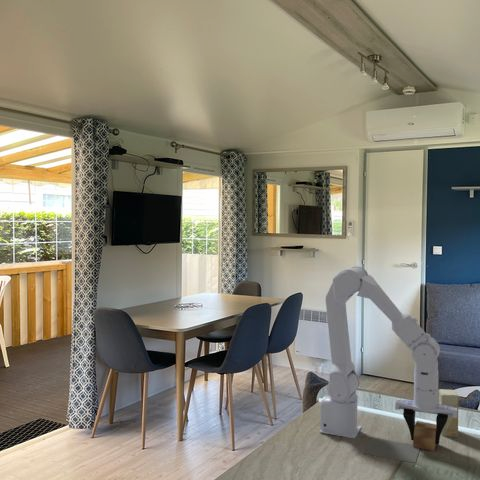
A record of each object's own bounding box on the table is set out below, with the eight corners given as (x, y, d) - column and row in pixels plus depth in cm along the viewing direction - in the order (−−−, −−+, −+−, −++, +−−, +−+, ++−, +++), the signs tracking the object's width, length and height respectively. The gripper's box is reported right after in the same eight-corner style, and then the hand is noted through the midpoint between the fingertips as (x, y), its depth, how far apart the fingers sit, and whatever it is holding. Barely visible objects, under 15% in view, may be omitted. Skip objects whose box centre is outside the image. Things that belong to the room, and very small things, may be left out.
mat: (363, 454, 131) (363, 453, 131) (372, 439, 140) (372, 437, 140) (415, 464, 126) (415, 462, 126) (420, 447, 135) (420, 445, 135)
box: (458, 437, 141) (459, 395, 140) (440, 436, 142) (441, 394, 141) (454, 429, 146) (455, 389, 145) (437, 428, 147) (438, 388, 146)
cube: (412, 446, 135) (414, 426, 134) (415, 439, 139) (417, 420, 139) (434, 451, 132) (435, 431, 132) (436, 444, 137) (437, 424, 137)
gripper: (458, 386, 136) (457, 439, 136) (398, 379, 142) (398, 430, 142) (456, 395, 129) (455, 451, 130) (394, 387, 135) (393, 440, 136)
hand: (425, 441), depth 136 cm, fingers closed on cube, 5 cm apart
